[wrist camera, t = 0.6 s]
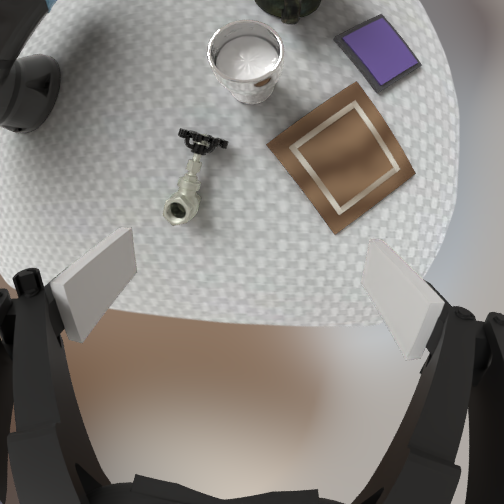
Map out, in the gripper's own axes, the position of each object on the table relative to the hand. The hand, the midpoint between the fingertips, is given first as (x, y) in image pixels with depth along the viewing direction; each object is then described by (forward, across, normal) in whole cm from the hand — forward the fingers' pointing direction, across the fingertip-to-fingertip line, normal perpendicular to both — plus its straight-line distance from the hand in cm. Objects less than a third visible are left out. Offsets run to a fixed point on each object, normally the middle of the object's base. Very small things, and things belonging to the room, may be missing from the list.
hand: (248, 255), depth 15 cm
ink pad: (+25, +17, +22) cm, 38 cm away
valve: (+26, -8, +1) cm, 27 cm away
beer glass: (+26, -1, +14) cm, 29 cm away
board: (+25, +12, +5) cm, 29 cm away
